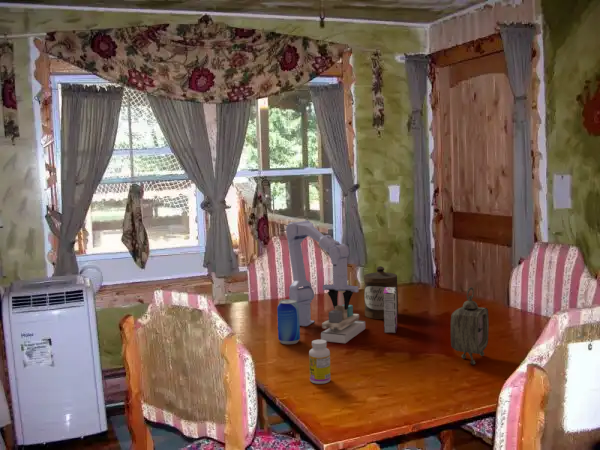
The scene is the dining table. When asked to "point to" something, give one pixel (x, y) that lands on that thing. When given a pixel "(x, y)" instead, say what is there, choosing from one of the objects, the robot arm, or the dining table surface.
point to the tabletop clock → (470, 328)
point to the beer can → (288, 321)
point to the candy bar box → (390, 310)
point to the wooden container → (378, 292)
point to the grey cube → (335, 316)
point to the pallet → (345, 320)
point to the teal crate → (349, 310)
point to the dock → (343, 332)
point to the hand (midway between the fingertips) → (340, 308)
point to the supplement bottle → (319, 362)
